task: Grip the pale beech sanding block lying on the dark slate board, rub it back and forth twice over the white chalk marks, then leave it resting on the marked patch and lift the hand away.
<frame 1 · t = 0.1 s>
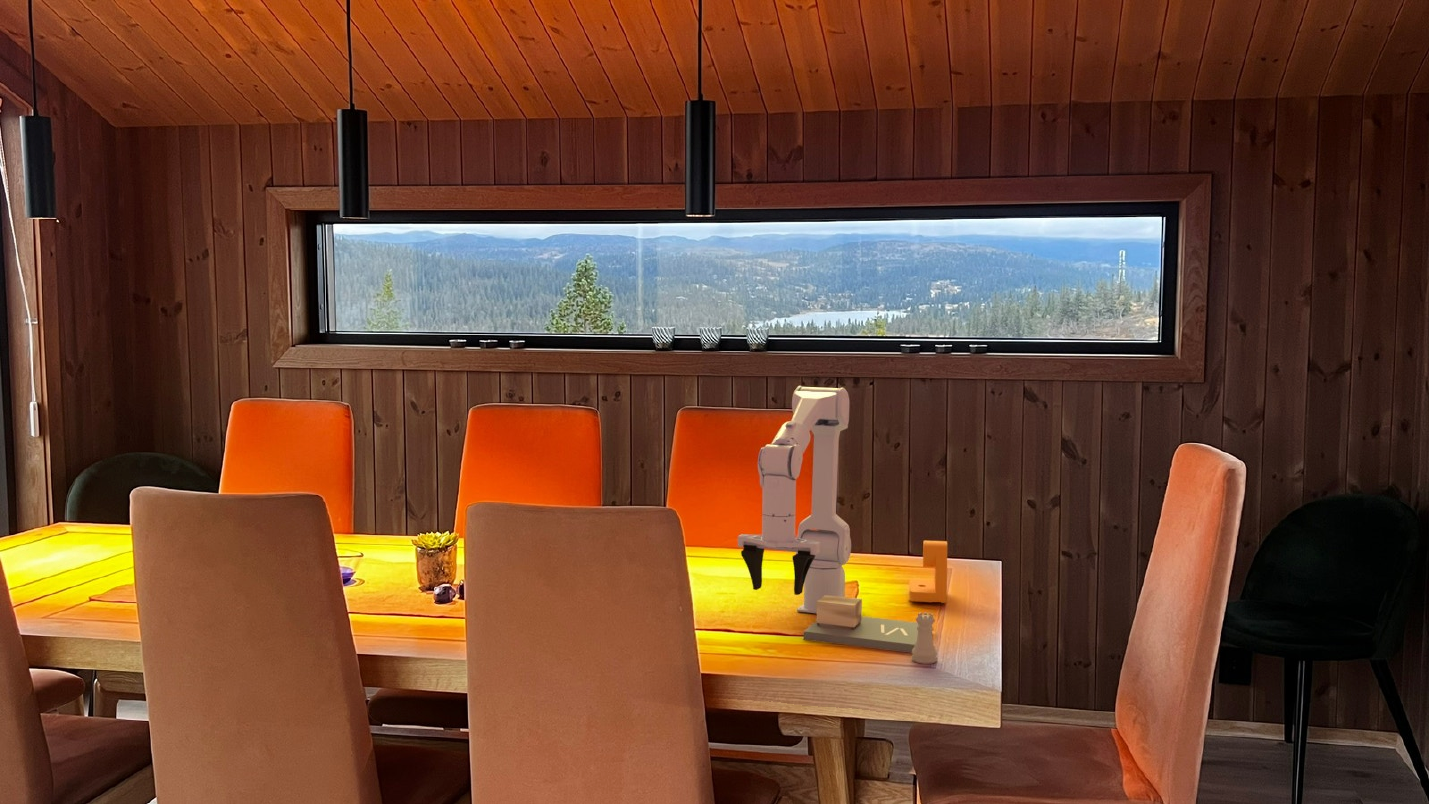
hand: (777, 591, 211), 10 cm above the table, fingers open, 7 cm apart
bracket: (927, 600, 247), on the table
rook chess piece: (924, 661, 206), on the table
board: (868, 635, 220), on the table
sanding block: (839, 624, 222), point 1 cm above the table, touching board
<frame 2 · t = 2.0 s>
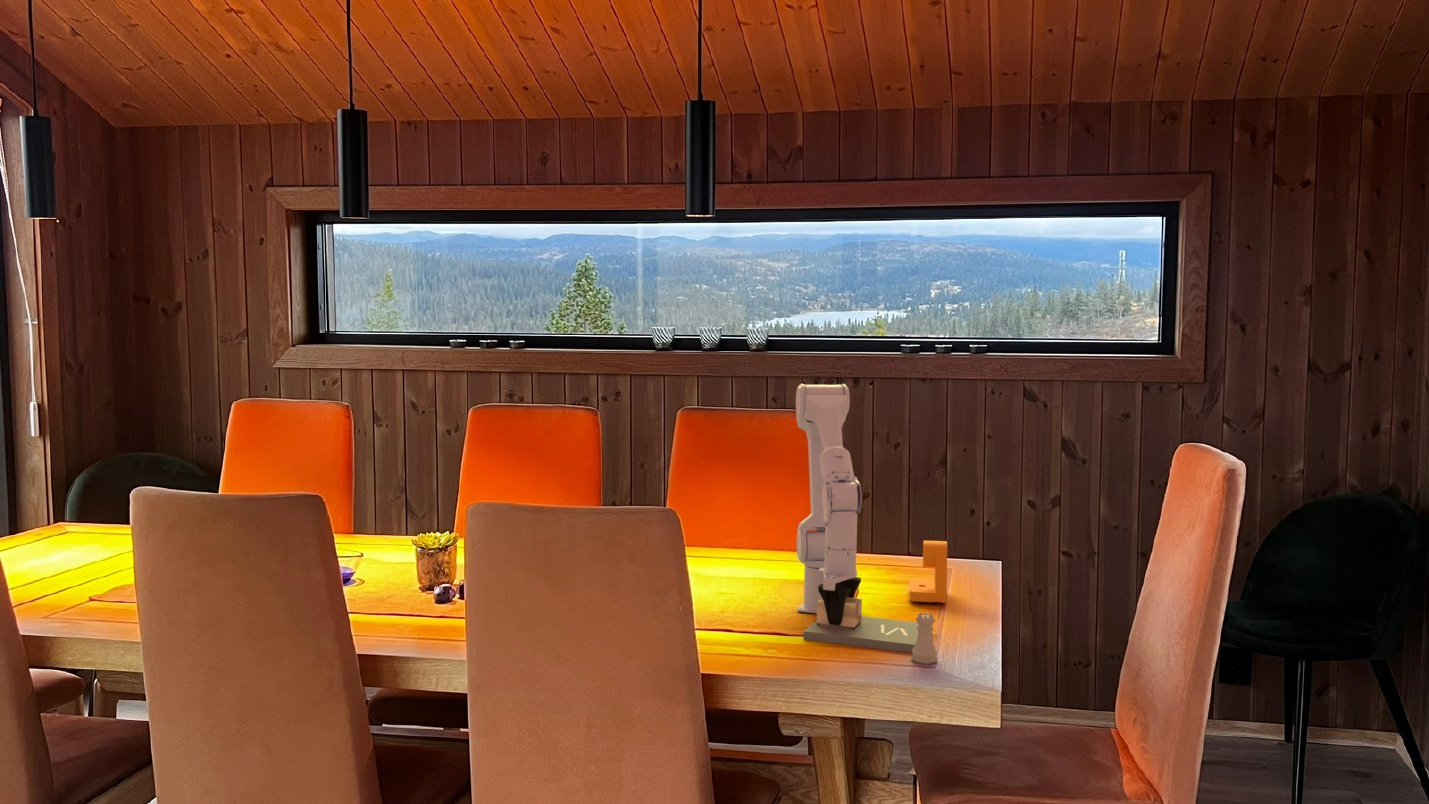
hand: (839, 620, 222), 2 cm above the table, fingers closed on sanding block, 5 cm apart
sanding block: (839, 624, 222), point 1 cm above the table, touching board, gripper
everything else where it was.
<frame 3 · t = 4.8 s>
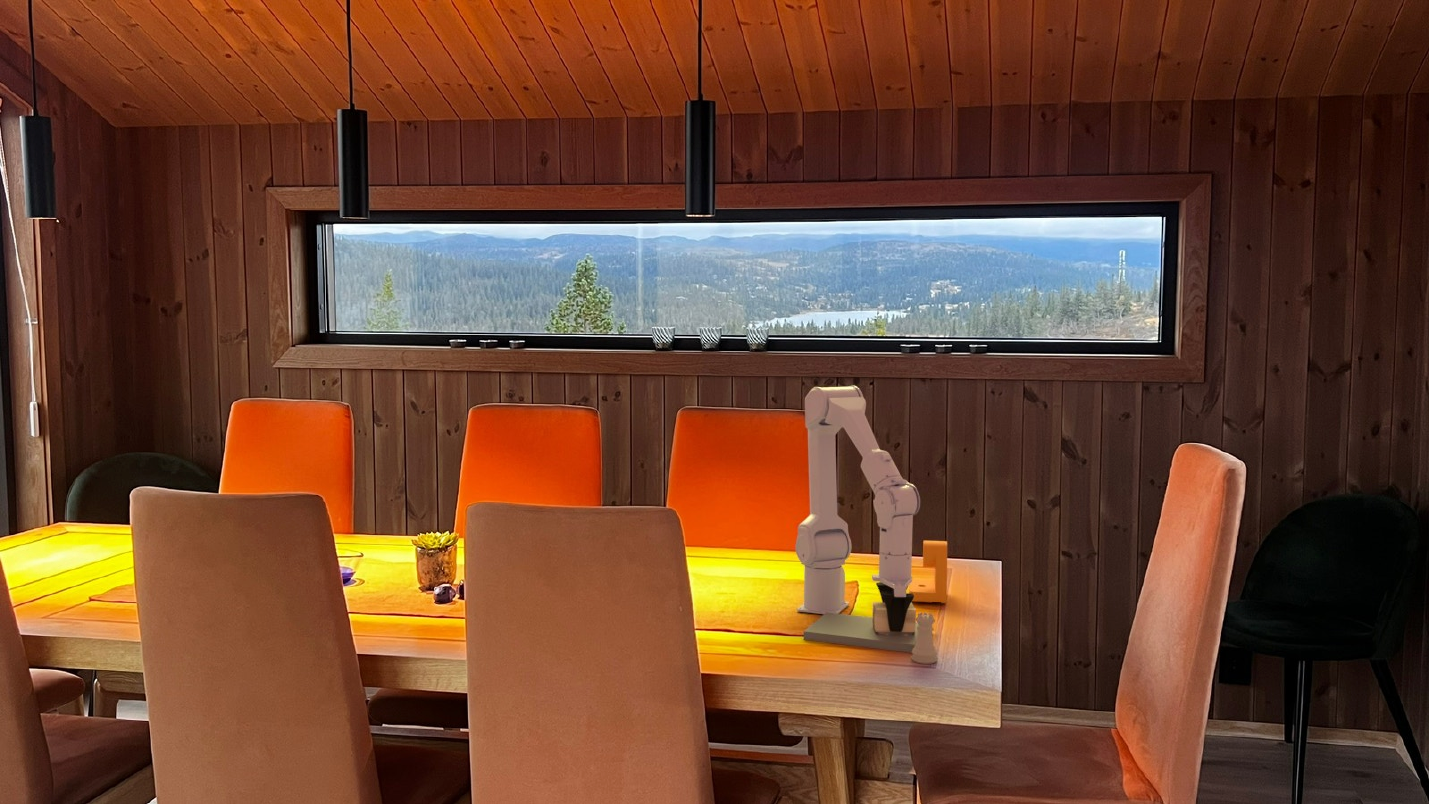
hand: (893, 626, 218), 2 cm above the table, fingers closed on sanding block, 5 cm apart
sanding block: (893, 630, 218), point 2 cm above the table, touching gripper
everything else where it was.
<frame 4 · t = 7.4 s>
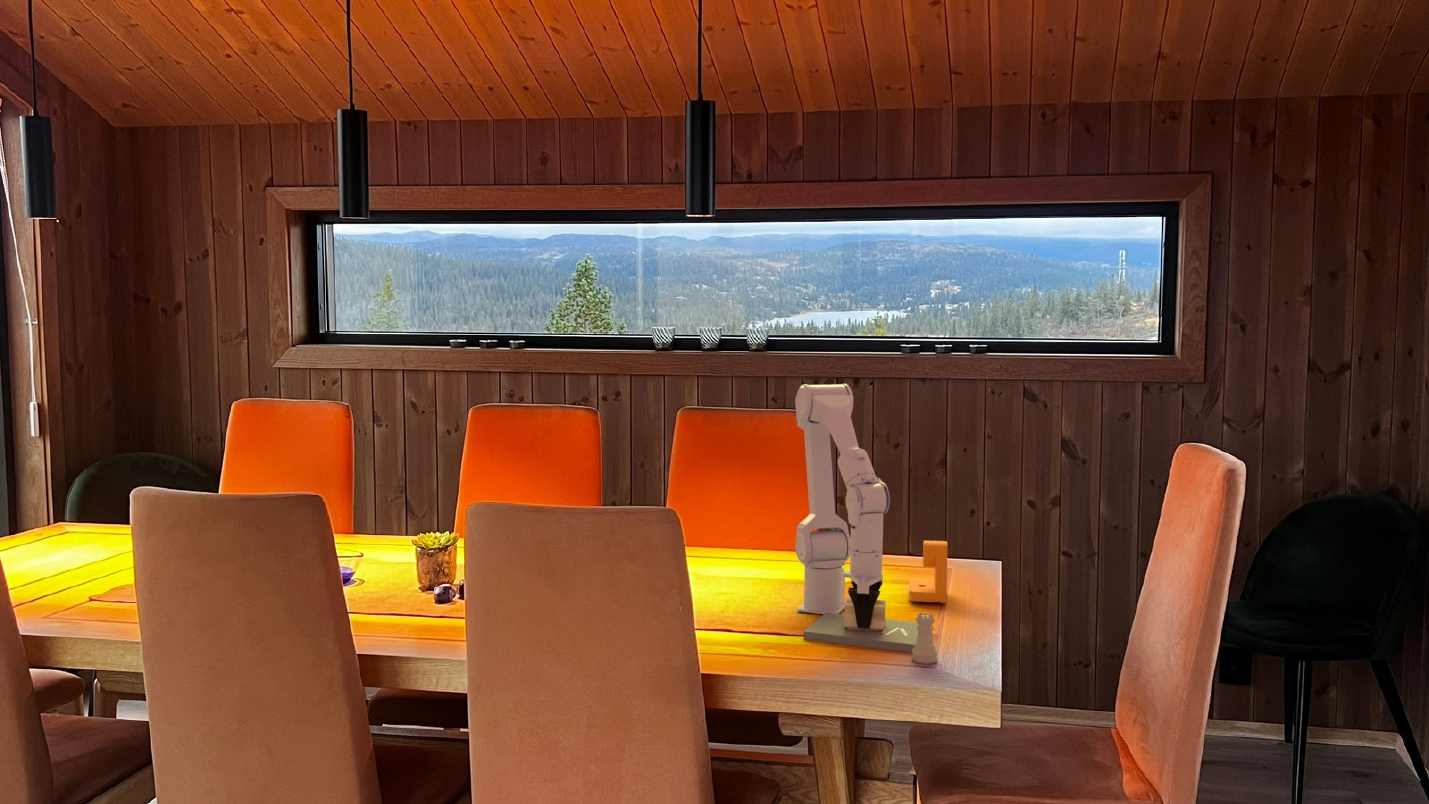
hand: (864, 623, 220), 2 cm above the table, fingers closed on sanding block, 5 cm apart
sanding block: (864, 627, 220), point 2 cm above the table, touching gripper
everything else where it was.
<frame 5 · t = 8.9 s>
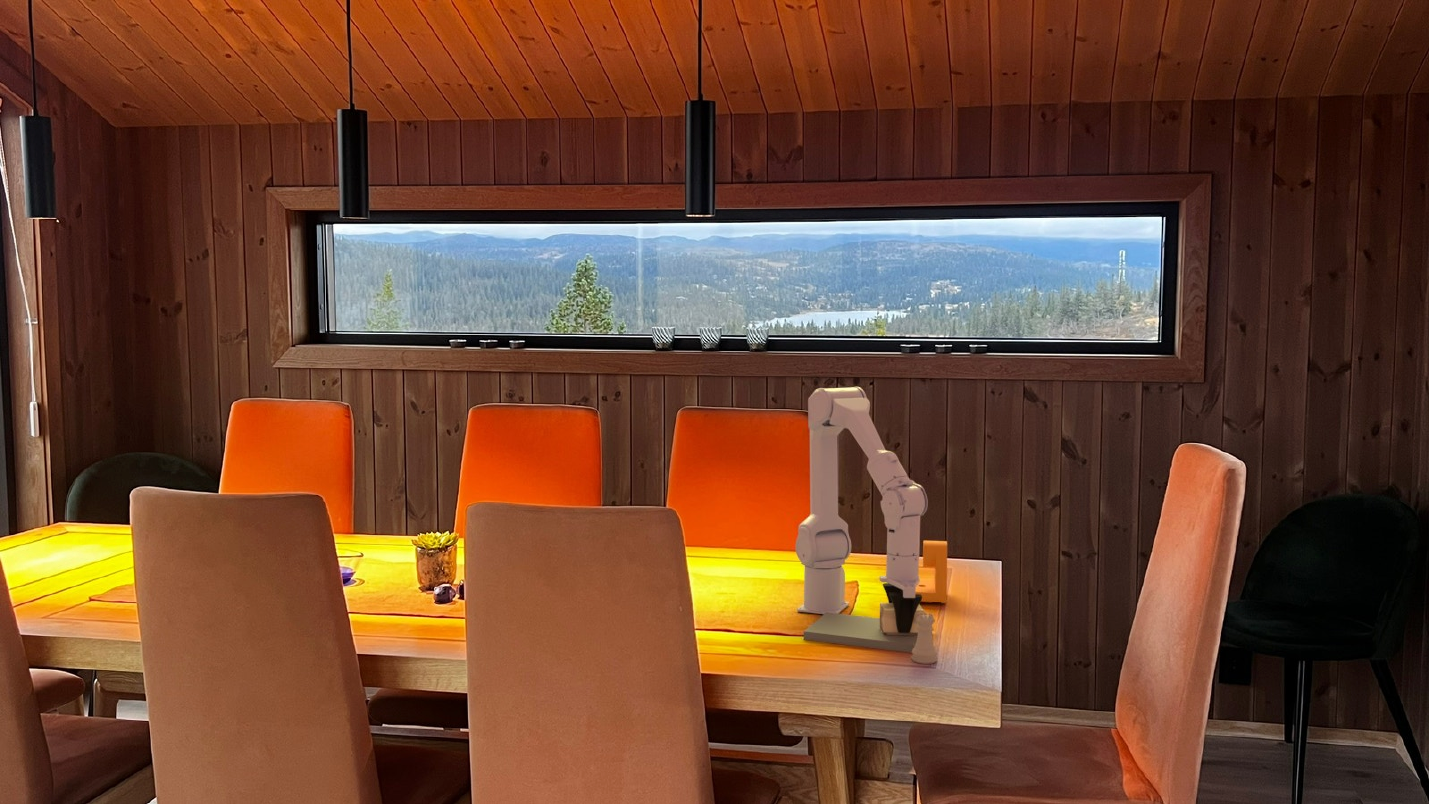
hand: (901, 627, 217), 2 cm above the table, fingers closed on sanding block, 5 cm apart
sanding block: (901, 631, 217), point 2 cm above the table, touching gripper
everything else where it was.
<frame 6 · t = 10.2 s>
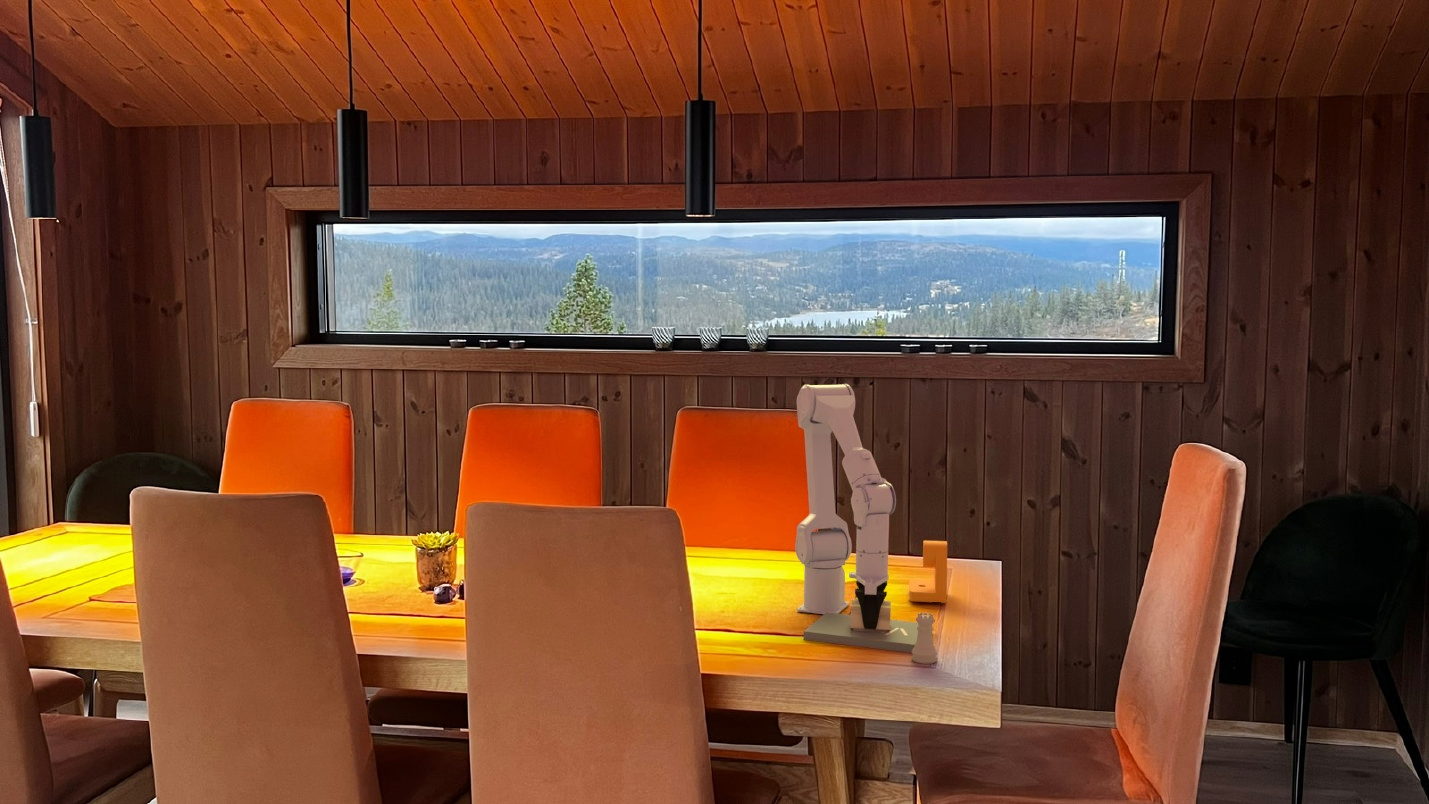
hand: (870, 624, 220), 2 cm above the table, fingers closed on sanding block, 5 cm apart
sanding block: (870, 627, 220), point 2 cm above the table, touching gripper
everything else where it was.
when the fingers open (2 cm above the table, at t = 12.8 s): sanding block stays where it is, resting on board.
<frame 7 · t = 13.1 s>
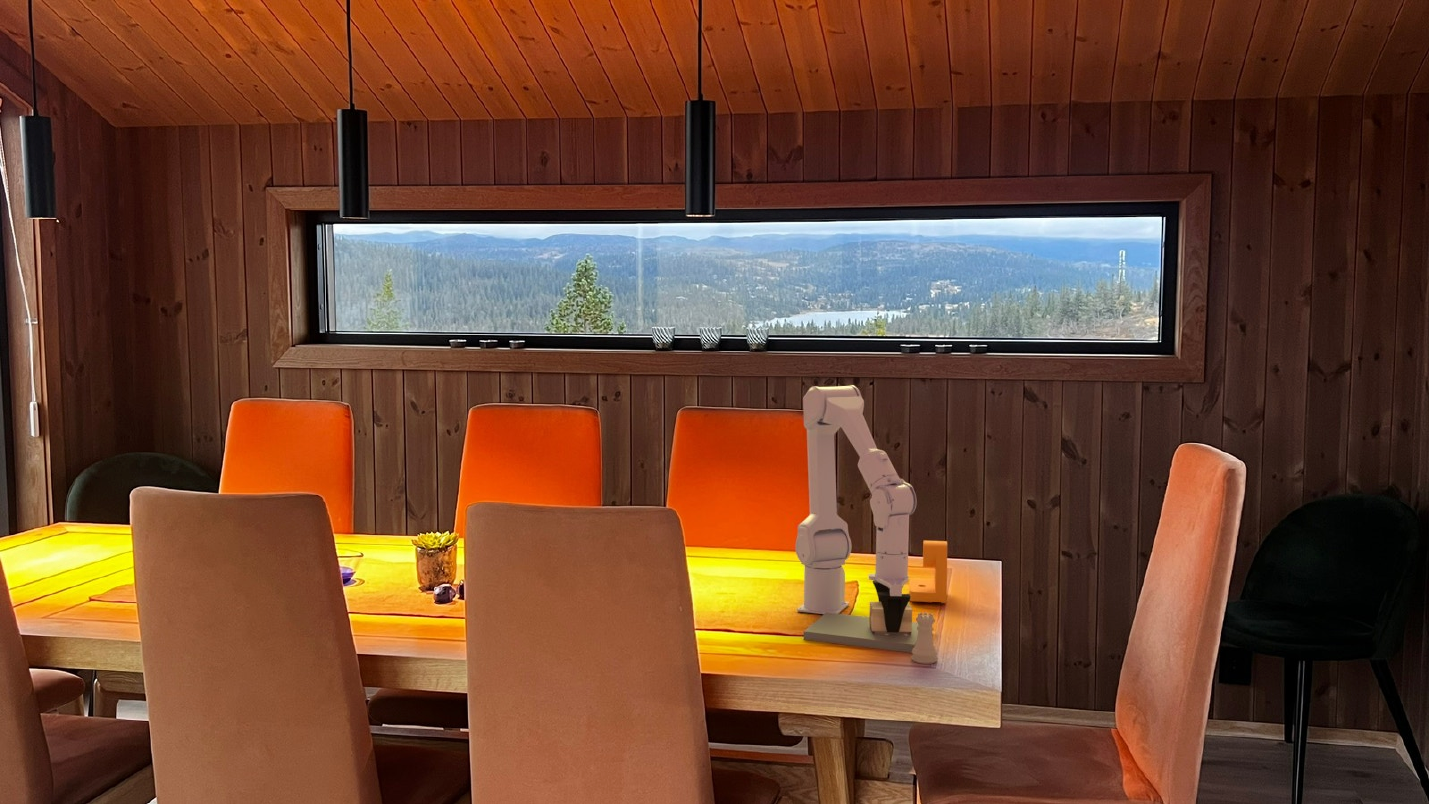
hand: (890, 625, 218), 2 cm above the table, fingers open, 7 cm apart
sanding block: (890, 630, 218), point 2 cm above the table, touching board
everything else where it was.
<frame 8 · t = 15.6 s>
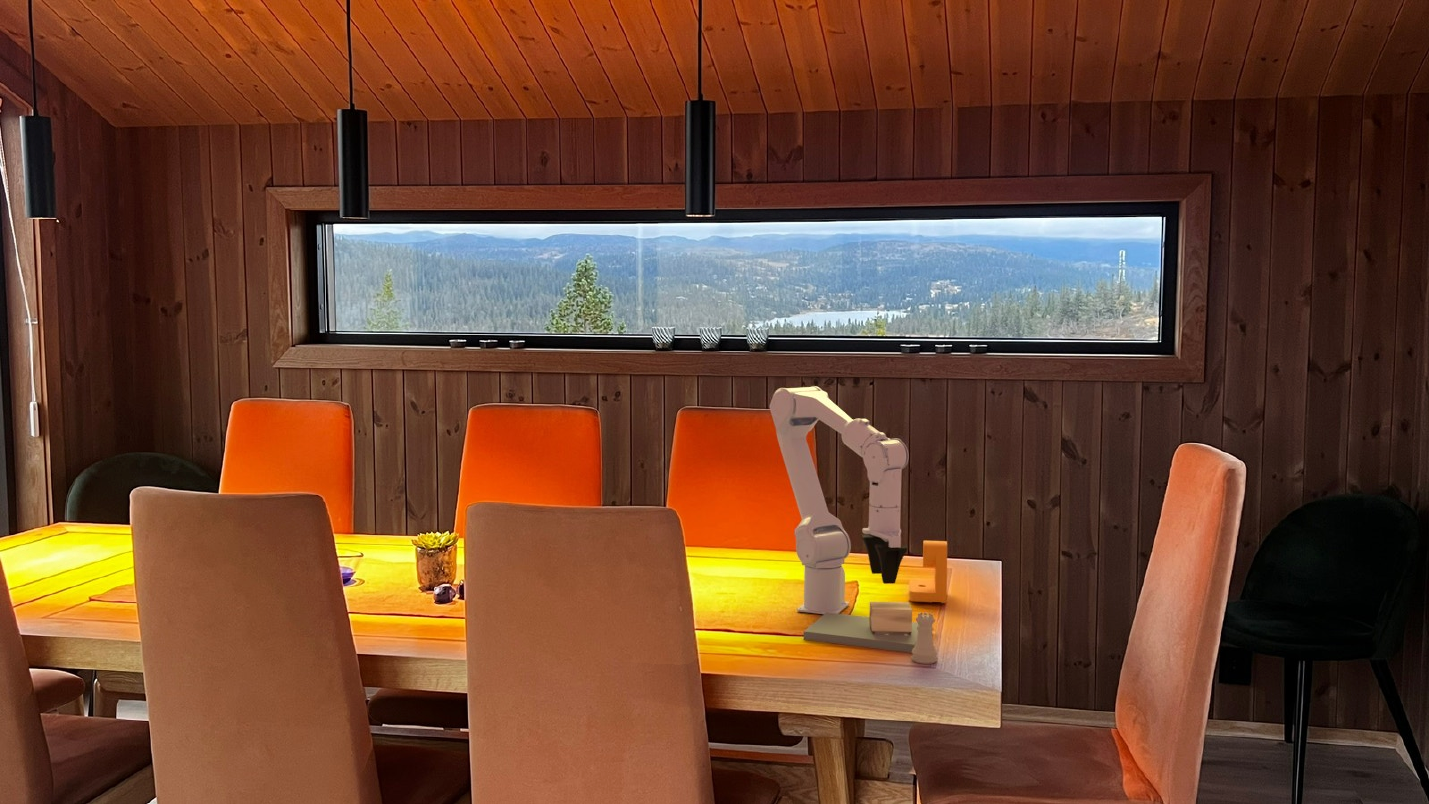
hand: (883, 578, 224), 9 cm above the table, fingers open, 7 cm apart
nothing on the table moved.
at the end: sanding block 0.0 cm from the target spot on the board, point 1.5 cm above the board's base; sanding block tilted 0°; the gripper is holding nothing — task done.
